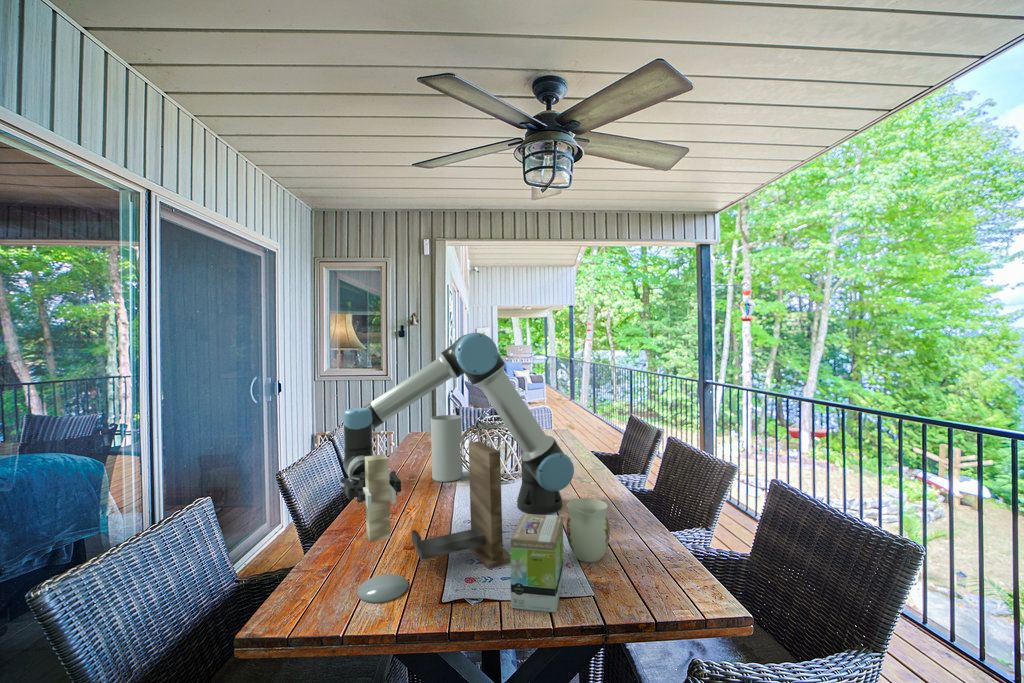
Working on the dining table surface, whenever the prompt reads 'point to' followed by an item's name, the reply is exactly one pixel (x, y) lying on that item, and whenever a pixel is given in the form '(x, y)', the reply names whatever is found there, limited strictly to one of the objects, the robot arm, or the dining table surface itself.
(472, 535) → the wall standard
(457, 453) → the cylinder vase
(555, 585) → the tea box
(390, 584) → the slate coaster
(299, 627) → the dining table surface
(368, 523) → the cedar rail
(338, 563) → the dining table surface
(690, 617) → the dining table surface
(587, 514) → the pitcher
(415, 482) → the dining table surface
